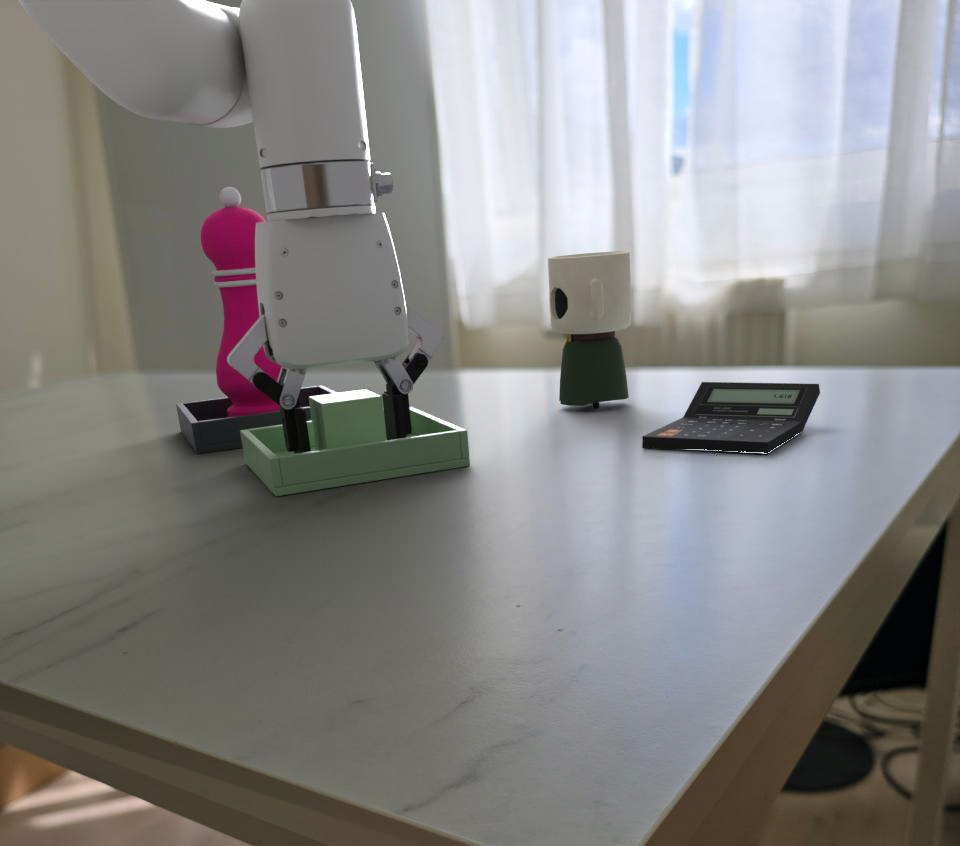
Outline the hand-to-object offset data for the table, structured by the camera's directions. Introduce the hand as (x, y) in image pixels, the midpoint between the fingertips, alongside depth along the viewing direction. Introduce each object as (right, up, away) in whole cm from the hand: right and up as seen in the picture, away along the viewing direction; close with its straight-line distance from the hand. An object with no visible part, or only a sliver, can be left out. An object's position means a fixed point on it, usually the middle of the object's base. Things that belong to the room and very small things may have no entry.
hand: (350, 451), depth 77 cm
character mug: (+20, +7, +16) cm, 27 cm away
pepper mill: (-10, +5, +17) cm, 20 cm away
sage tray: (0, -1, 0) cm, 1 cm away
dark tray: (-10, +5, +17) cm, 20 cm away
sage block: (0, 0, 0) cm, 0 cm away
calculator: (+29, +1, 0) cm, 29 cm away
